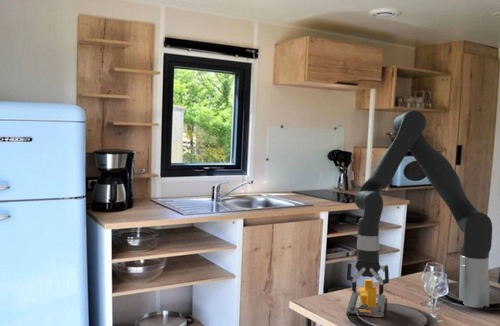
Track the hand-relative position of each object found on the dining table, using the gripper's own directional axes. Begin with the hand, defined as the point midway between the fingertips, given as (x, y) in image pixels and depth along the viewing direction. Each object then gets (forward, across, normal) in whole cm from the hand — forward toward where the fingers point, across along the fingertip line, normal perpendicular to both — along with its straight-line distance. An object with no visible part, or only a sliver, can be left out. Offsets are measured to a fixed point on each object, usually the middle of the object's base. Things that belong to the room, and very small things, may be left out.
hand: (367, 293), depth 164 cm
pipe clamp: (+3, 0, 0) cm, 3 cm away
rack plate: (+4, 0, 0) cm, 4 cm away
